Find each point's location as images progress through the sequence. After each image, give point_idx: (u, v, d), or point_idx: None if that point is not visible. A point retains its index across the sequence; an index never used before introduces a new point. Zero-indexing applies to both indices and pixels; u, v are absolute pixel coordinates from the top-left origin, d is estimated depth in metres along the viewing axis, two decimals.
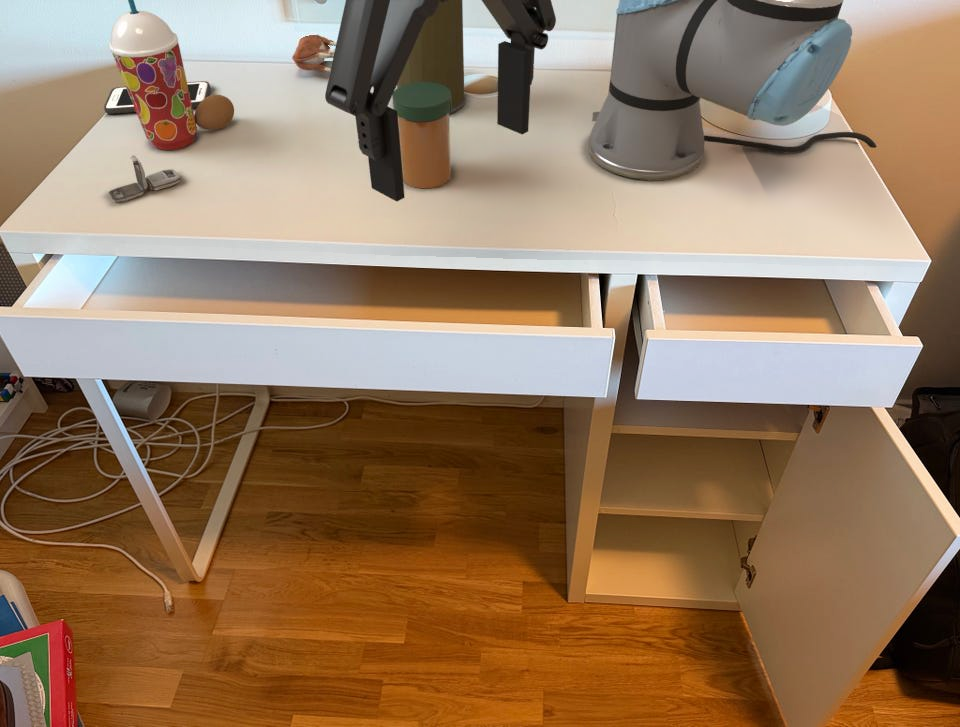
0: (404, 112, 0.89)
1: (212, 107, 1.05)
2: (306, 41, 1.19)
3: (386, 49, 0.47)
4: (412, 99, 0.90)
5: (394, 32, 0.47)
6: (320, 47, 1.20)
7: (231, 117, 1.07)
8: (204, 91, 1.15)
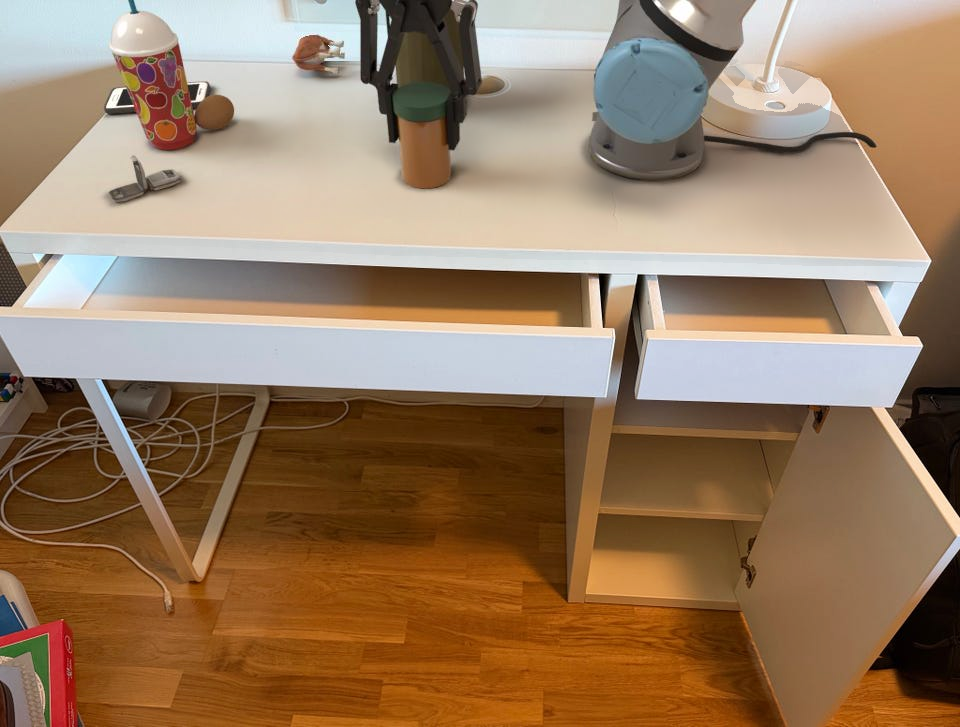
0: (404, 112, 0.89)
1: (212, 107, 1.05)
2: (306, 41, 1.19)
3: None
4: (412, 99, 0.90)
5: None
6: (320, 47, 1.20)
7: (231, 117, 1.07)
8: (204, 91, 1.15)
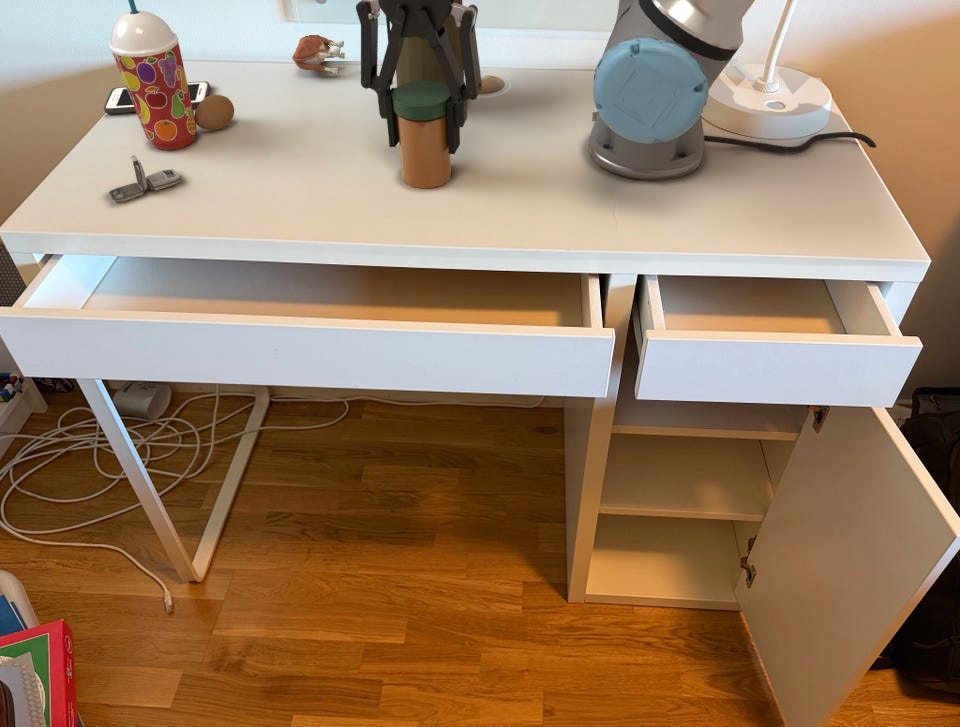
0: None
1: (212, 107, 1.05)
2: (306, 41, 1.19)
3: None
4: (435, 95, 0.90)
5: None
6: (320, 47, 1.20)
7: (231, 117, 1.07)
8: (204, 91, 1.15)
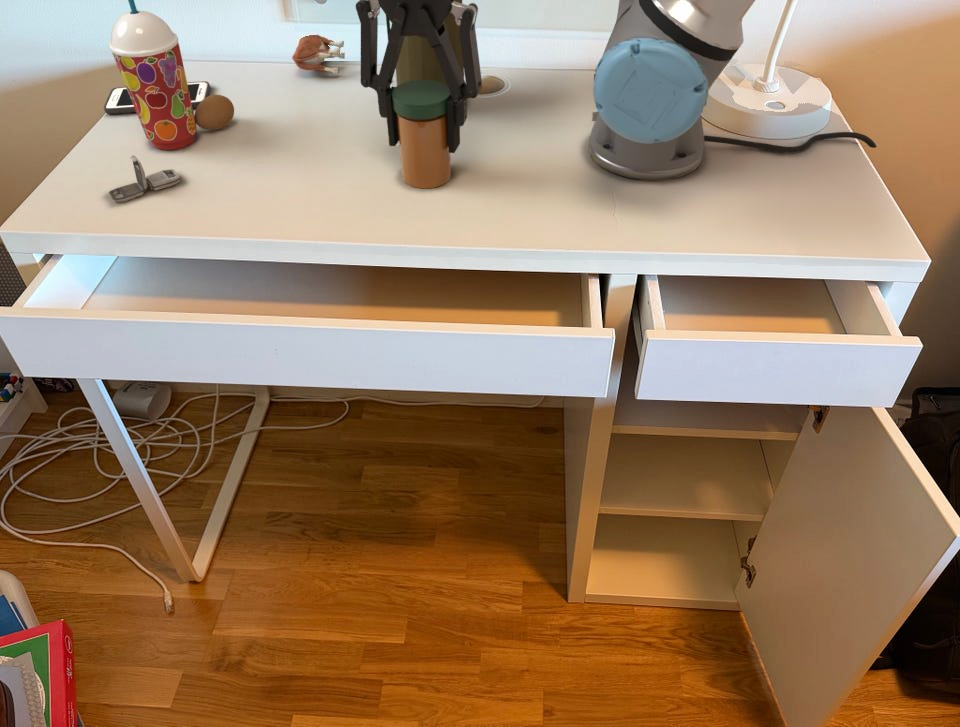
0: None
1: (212, 107, 1.05)
2: (306, 41, 1.19)
3: None
4: (422, 85, 0.92)
5: None
6: (320, 47, 1.20)
7: (231, 117, 1.07)
8: (204, 91, 1.15)
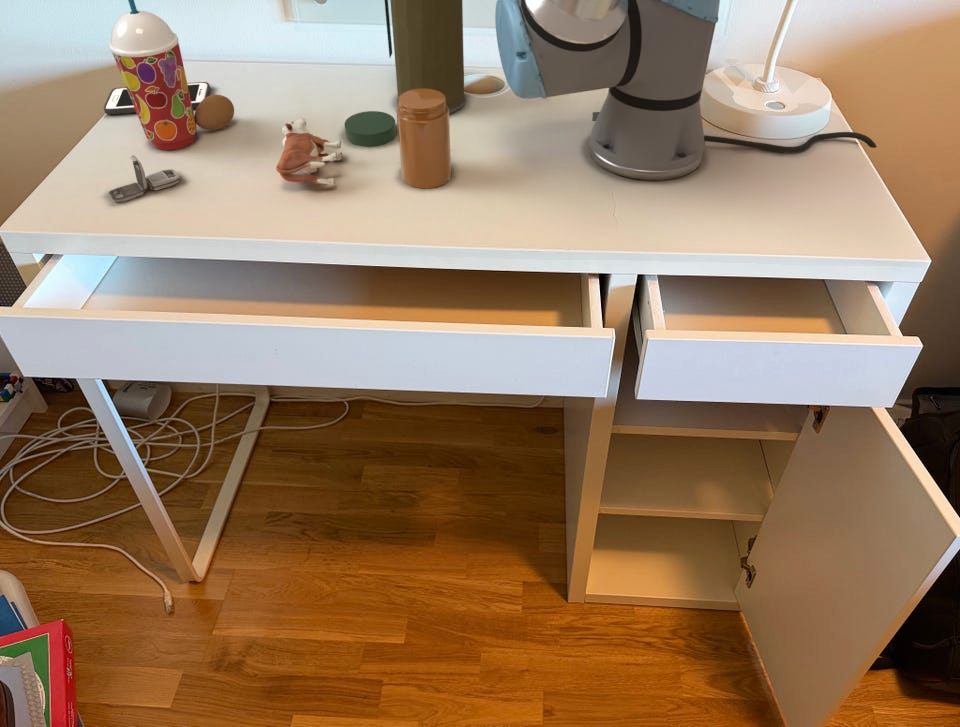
0: (383, 137, 1.04)
1: (212, 107, 1.05)
2: (294, 145, 0.95)
3: None
4: (376, 127, 1.04)
5: None
6: (311, 152, 0.95)
7: (231, 117, 1.07)
8: (204, 92, 1.15)
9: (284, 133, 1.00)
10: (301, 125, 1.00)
